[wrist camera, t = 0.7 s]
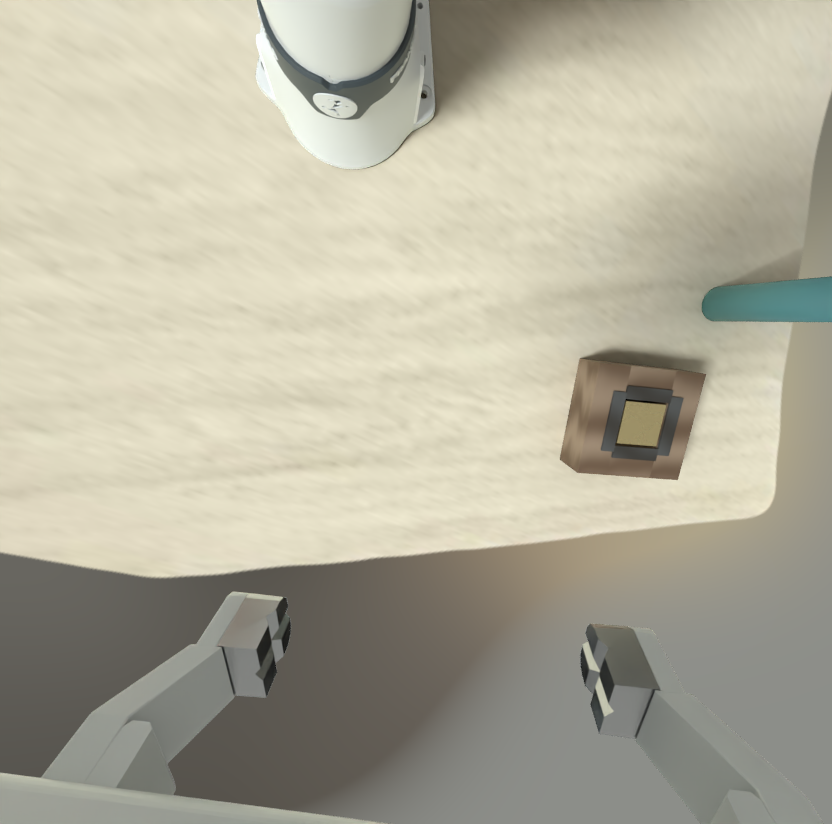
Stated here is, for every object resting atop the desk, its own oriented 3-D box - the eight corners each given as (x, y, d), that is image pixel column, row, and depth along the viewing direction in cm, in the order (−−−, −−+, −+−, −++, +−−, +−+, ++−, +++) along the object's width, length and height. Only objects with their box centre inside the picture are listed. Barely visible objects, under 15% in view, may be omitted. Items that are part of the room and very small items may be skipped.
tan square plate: (621, 399, 50) (626, 401, 49) (660, 403, 51) (666, 405, 50) (612, 440, 52) (616, 443, 51) (650, 444, 52) (656, 446, 51)
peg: (706, 284, 53) (873, 268, 35) (736, 288, 53) (915, 274, 36) (698, 319, 53) (855, 319, 36) (727, 322, 54) (897, 325, 37)
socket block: (579, 358, 53) (602, 362, 48) (676, 369, 55) (708, 374, 50) (559, 459, 56) (578, 473, 51) (652, 466, 58) (679, 480, 53)
